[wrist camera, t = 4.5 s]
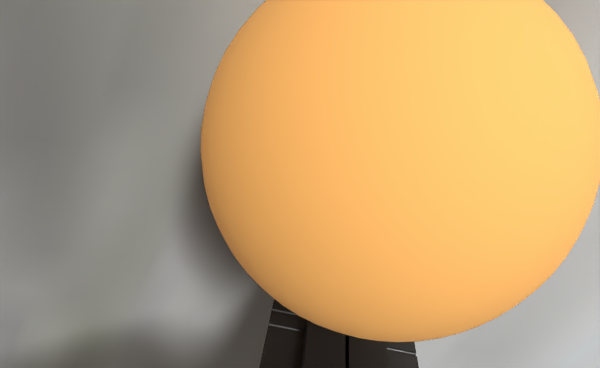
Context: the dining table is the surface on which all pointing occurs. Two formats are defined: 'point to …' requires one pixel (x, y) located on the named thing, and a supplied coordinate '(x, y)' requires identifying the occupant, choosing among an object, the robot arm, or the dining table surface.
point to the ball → (401, 158)
